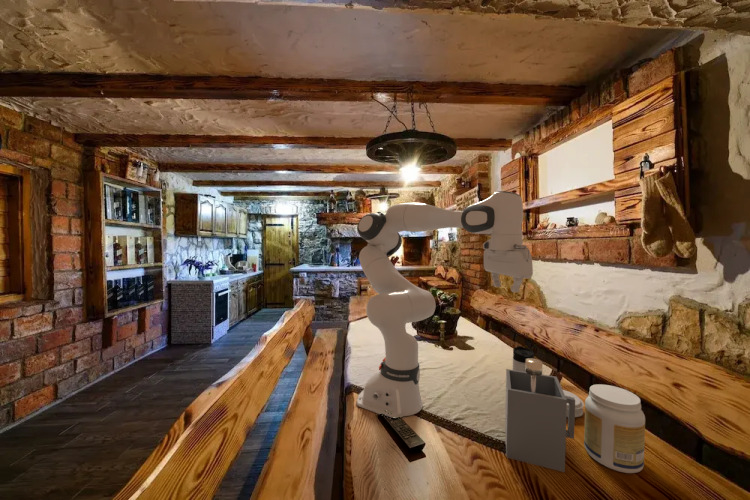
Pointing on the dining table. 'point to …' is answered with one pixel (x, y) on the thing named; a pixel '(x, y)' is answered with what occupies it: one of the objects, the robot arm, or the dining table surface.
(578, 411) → the lid
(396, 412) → the robot arm
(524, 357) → the travel mug
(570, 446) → the dining table surface
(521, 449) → the box
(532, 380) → the plunger
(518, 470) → the dining table surface
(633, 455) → the supplement tub
